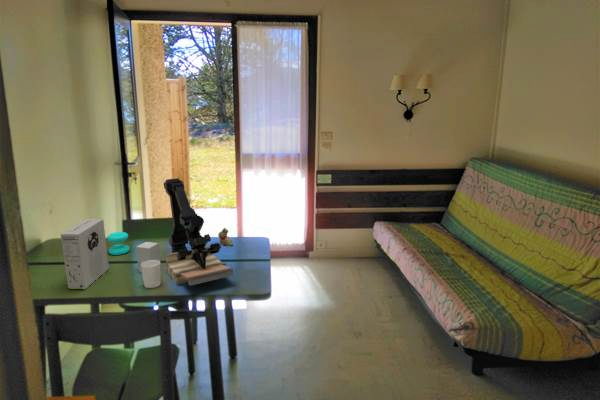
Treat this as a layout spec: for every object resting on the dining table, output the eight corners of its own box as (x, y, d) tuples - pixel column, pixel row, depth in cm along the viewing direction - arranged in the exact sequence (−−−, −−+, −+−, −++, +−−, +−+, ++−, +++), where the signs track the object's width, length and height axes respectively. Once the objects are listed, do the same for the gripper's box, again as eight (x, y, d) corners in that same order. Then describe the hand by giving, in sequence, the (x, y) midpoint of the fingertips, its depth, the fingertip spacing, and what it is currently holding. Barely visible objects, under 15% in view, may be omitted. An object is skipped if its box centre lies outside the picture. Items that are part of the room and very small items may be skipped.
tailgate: (180, 273, 186) (189, 278, 175) (221, 264, 196) (232, 268, 185) (181, 280, 186) (190, 285, 175) (222, 270, 196) (233, 275, 185)
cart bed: (166, 271, 200) (164, 254, 198) (212, 261, 212) (211, 245, 209) (177, 286, 185) (175, 267, 183) (226, 274, 197) (225, 257, 195)
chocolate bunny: (226, 241, 240) (225, 224, 237) (234, 245, 234) (233, 227, 232) (217, 243, 236) (217, 226, 234) (225, 247, 231) (224, 230, 228)
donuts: (105, 233, 222) (125, 229, 228) (107, 251, 225) (127, 247, 230) (109, 238, 214) (130, 235, 220) (111, 257, 217) (131, 253, 222)
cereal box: (93, 269, 202) (87, 218, 196) (109, 269, 202) (103, 218, 196) (68, 290, 181) (60, 233, 175) (85, 290, 181) (78, 234, 175)
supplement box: (161, 268, 204) (159, 242, 201) (151, 274, 197) (149, 248, 194) (148, 265, 206) (146, 241, 203) (138, 271, 200) (135, 246, 196)
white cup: (145, 281, 190) (143, 260, 188) (163, 280, 191) (162, 259, 188) (140, 289, 182) (138, 267, 180) (159, 288, 183) (157, 266, 181)
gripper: (176, 232, 182) (186, 265, 176) (218, 225, 192) (229, 256, 186) (172, 244, 191) (182, 276, 185) (212, 237, 201) (222, 267, 194)
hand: (204, 268), depth 187 cm, fingers closed
